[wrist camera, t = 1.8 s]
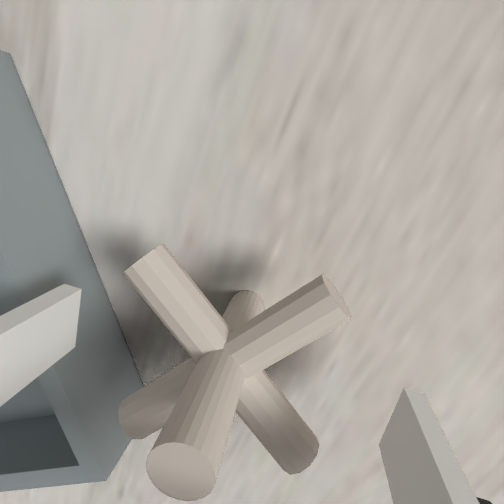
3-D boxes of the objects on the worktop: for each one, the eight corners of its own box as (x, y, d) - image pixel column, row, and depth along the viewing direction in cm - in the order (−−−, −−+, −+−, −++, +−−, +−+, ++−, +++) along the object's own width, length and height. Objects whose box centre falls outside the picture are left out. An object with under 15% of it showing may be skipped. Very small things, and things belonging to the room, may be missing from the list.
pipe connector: (384, 333, 17) (476, 547, 8) (231, 416, 20) (163, 649, 11) (266, 169, 16) (208, 189, 7) (120, 282, 19) (-68, 409, 9)
